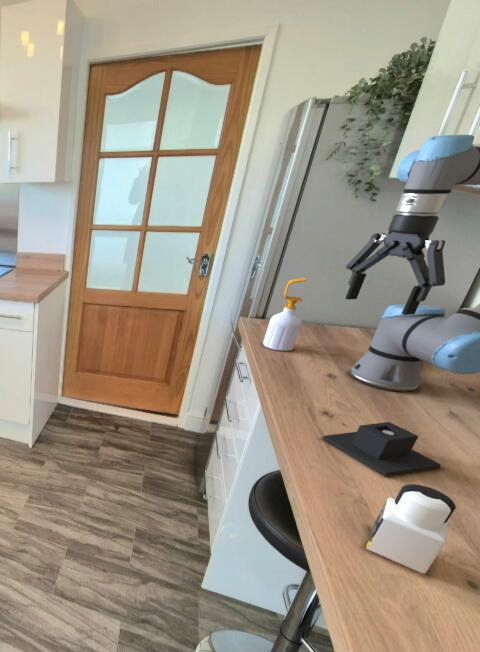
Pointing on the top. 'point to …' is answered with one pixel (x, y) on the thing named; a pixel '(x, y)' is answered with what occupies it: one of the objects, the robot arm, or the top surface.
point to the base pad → (382, 466)
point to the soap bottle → (284, 324)
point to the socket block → (384, 440)
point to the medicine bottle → (412, 527)
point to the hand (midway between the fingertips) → (377, 306)
